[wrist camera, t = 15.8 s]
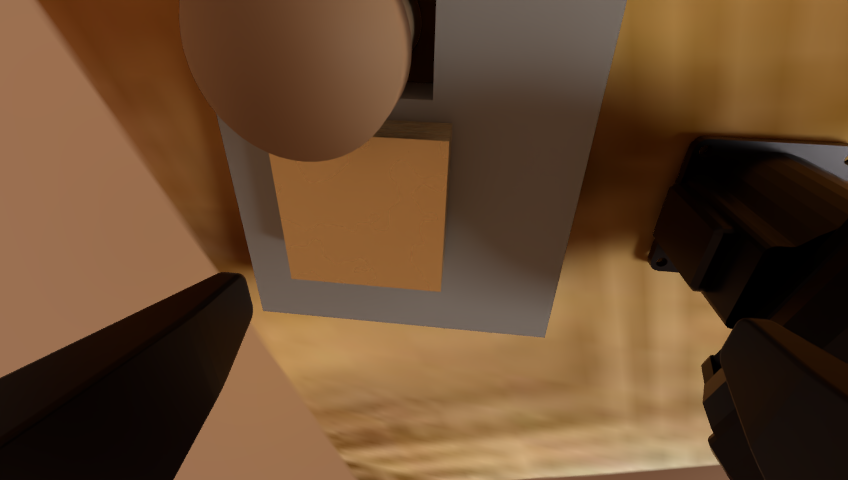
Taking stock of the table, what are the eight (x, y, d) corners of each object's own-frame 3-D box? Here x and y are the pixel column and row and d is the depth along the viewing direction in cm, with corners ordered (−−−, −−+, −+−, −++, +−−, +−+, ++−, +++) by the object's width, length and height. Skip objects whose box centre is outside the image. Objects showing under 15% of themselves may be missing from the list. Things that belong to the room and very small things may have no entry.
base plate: (633, -153, 13) (672, -188, 10) (537, 297, 22) (544, 337, 20) (206, -153, 14) (145, -185, 11) (286, 275, 23) (263, 310, 21)
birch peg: (442, -46, 15) (401, -86, 7) (437, 83, 17) (401, 167, 9) (323, -48, 15) (147, -91, 7) (333, 78, 17) (210, 155, 9)
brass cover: (452, 123, 15) (449, 141, 13) (444, 262, 18) (440, 291, 16) (288, 114, 15) (264, 130, 13) (308, 251, 18) (291, 278, 16)
